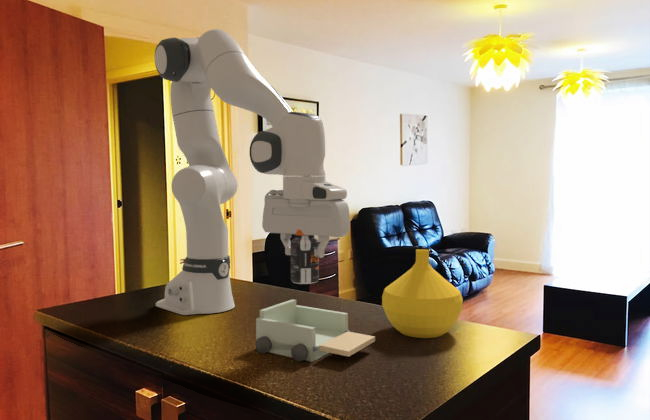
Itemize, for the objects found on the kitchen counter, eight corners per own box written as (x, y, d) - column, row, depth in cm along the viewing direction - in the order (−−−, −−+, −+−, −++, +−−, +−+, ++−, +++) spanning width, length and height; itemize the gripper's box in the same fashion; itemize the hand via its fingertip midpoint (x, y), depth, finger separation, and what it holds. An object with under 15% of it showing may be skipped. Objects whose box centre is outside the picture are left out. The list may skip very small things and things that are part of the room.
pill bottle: (315, 285, 107) (315, 229, 106) (287, 284, 108) (286, 229, 107) (321, 279, 113) (321, 226, 112) (295, 278, 114) (294, 226, 113)
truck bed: (252, 351, 108) (251, 312, 108) (298, 331, 122) (298, 297, 122) (311, 364, 100) (311, 323, 100) (353, 341, 114) (353, 305, 114)
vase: (464, 324, 128) (465, 246, 126) (459, 348, 110) (461, 257, 109) (389, 318, 133) (390, 243, 132) (374, 340, 116) (374, 253, 115)
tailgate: (319, 345, 103) (348, 351, 99) (347, 331, 112) (375, 336, 108) (319, 351, 103) (348, 357, 99) (347, 337, 112) (375, 342, 108)
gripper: (255, 190, 112) (256, 254, 113) (337, 191, 101) (338, 262, 102) (273, 189, 117) (274, 250, 118) (353, 190, 107) (353, 258, 107)
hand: (304, 256), depth 110 cm, fingers closed on pill bottle, 6 cm apart
